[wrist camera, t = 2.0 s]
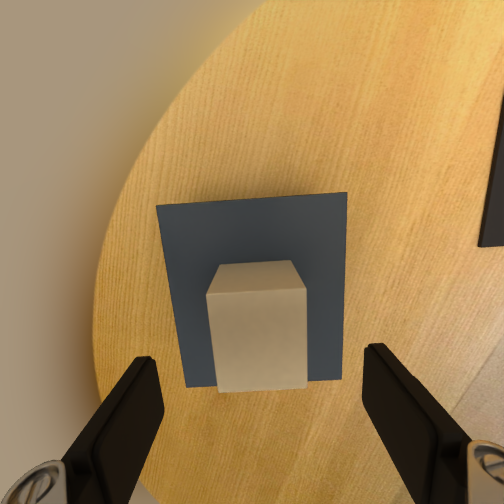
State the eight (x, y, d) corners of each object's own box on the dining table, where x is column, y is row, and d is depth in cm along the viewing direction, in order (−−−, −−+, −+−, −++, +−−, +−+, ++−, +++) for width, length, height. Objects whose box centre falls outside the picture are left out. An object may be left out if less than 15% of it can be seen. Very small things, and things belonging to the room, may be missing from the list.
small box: (219, 264, 16) (205, 294, 11) (290, 259, 16) (307, 288, 11) (227, 339, 18) (218, 393, 13) (293, 335, 18) (308, 389, 13)
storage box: (185, 201, 22) (155, 205, 15) (318, 192, 22) (347, 192, 15) (203, 336, 26) (185, 388, 19) (318, 330, 25) (341, 379, 19)
